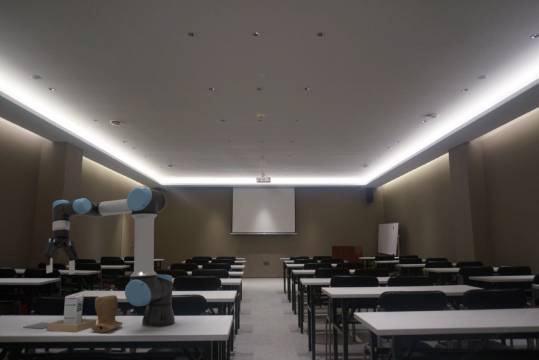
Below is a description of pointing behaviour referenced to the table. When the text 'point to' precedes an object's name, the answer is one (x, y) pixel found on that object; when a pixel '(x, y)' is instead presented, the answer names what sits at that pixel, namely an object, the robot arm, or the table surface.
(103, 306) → the stone cup
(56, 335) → the table surface
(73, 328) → the mailer box
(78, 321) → the syrup box
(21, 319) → the table surface
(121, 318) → the table surface
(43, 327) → the slate pad
